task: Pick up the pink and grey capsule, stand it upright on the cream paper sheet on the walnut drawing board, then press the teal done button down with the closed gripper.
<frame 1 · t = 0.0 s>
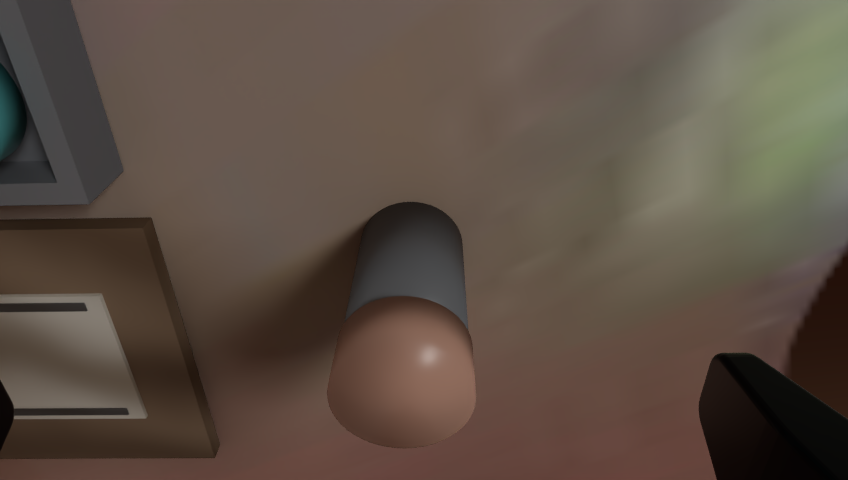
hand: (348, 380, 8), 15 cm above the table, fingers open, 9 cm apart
drawing board: (56, 346, 27), on the table
pink and grey capsule: (411, 246, 24), on the table
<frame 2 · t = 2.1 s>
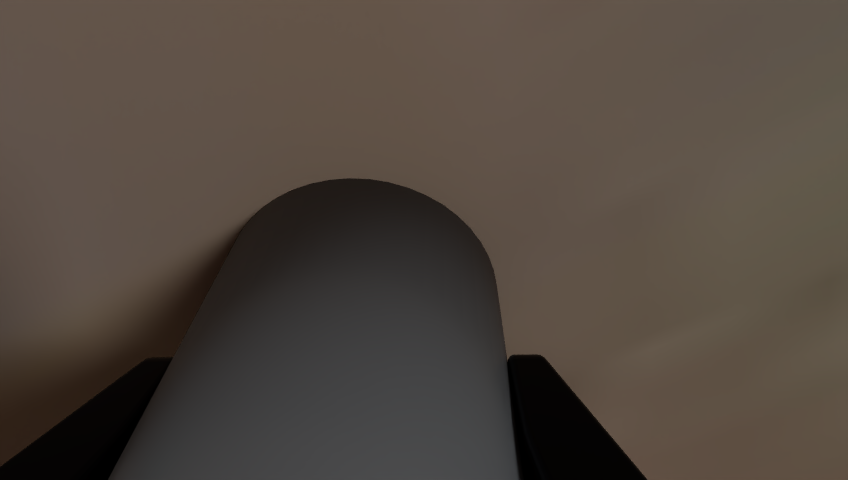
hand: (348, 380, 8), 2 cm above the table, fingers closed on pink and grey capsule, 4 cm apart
pink and grey capsule: (361, 300, 9), on the table, touching gripper
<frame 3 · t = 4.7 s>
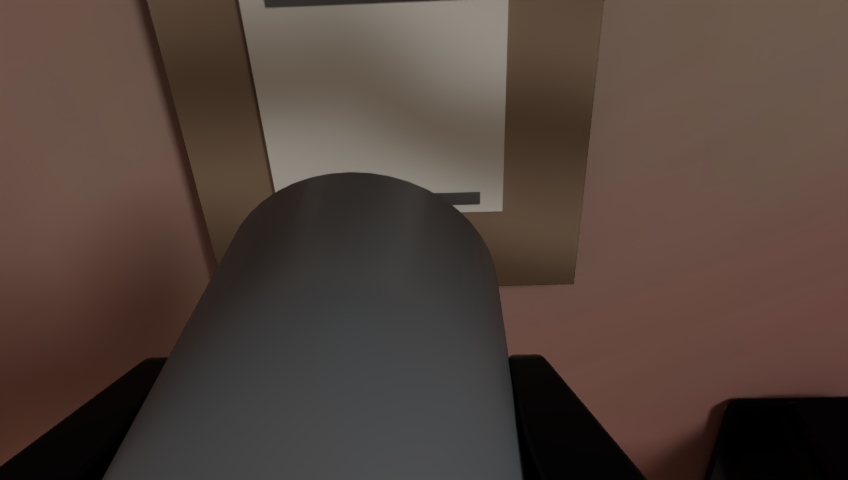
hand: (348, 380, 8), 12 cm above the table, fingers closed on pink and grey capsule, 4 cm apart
drawing board: (384, 95, 18), on the table
pink and grey capsule: (361, 295, 9), point 10 cm above the table, touching gripper
when the fingers open (4 cm above the table, at t = 7.1 s): pink and grey capsule stays where it is, resting on drawing board.
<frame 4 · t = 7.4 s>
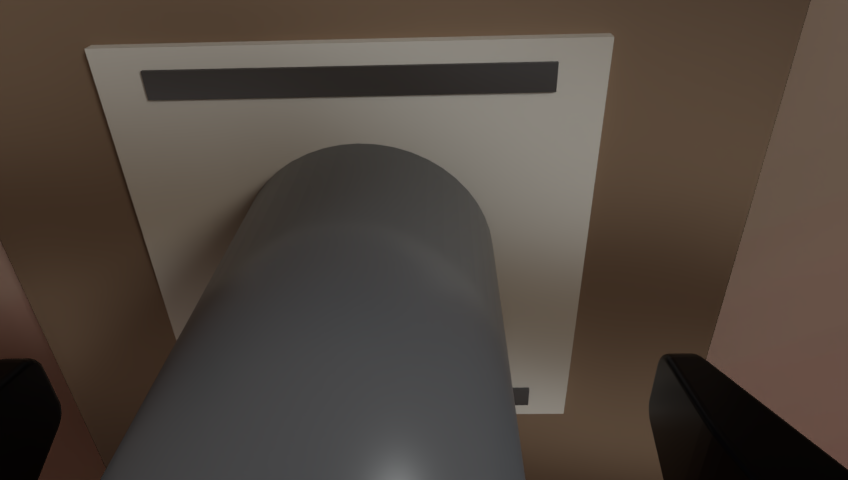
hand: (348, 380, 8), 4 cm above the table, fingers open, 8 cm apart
drawing board: (371, 231, 11), on the table
pink and grey capsule: (368, 259, 10), point 1 cm above the table, touching drawing board
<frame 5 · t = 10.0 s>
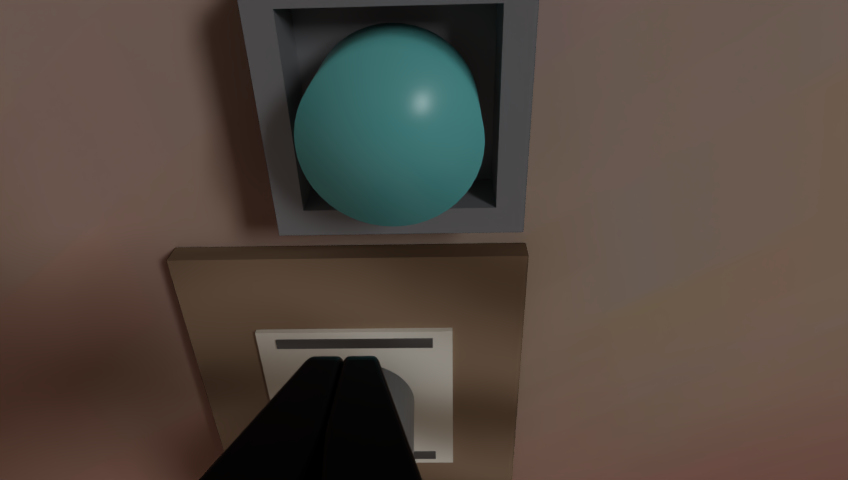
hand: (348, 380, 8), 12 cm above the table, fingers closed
done button: (392, 125, 15), point 3 cm above the table, slide at 0.0 cm
button housing: (399, 85, 18), on the table
drawing board: (364, 383, 24), on the table
pink and grey capsule: (362, 402, 23), point 1 cm above the table, touching drawing board
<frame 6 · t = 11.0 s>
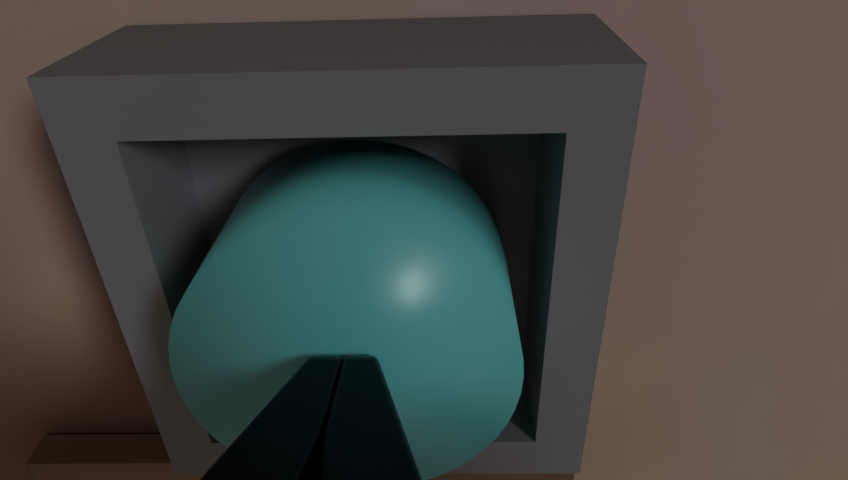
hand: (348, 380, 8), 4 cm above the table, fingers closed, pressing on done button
done button: (357, 317, 9), point 3 cm above the table, slide at 0.6 cm, touching gripper
button housing: (374, 223, 11), on the table
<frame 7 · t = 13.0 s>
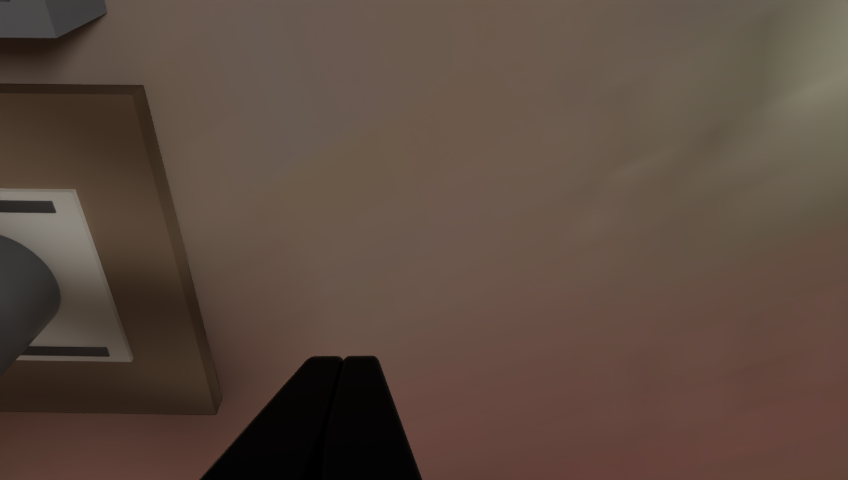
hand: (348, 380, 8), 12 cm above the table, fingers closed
drawing board: (17, 266, 21), on the table
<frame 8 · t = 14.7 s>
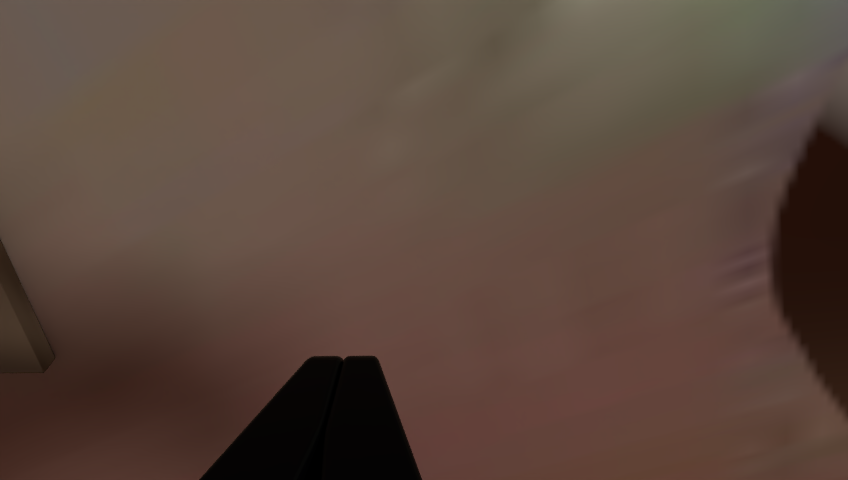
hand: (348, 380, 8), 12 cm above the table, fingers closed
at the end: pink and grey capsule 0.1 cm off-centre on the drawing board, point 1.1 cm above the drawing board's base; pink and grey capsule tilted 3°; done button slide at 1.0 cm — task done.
